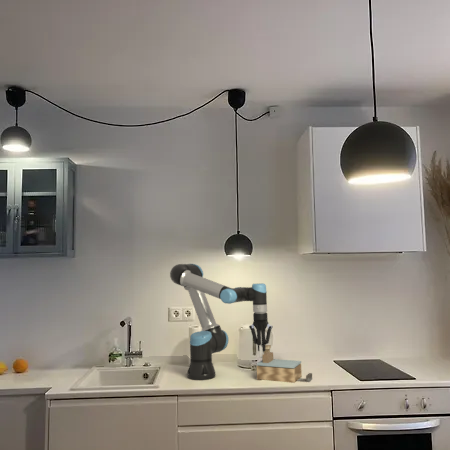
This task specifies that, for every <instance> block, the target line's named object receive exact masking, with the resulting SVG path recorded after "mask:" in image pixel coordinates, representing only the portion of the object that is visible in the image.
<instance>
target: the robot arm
mask: <svg viewBox="0 0 450 450" xmlns="http://www.w3.org/2000/svg"><path fill="white" fill-rule="evenodd" d="M169 277H170V280H171V281H172V282H173V283H174V284H175V285H178V286H181V287H183V289H184V290H186V291H187V292H188V294H189V297H190V299H191V302H192V305H193V308H194V310H195V313H196V316H197V318H198V320H199V323H200V327H201V330H200V331H195V332H193V333H191V335H190V336H189V337H190V338H189V354H190V355H189V356H190V360H189V361H190V362H189V366H188V371H187V373H186V374H187V378H188V379H189V380H192V381H193V380H194V381H203V380H206V381H207V380H211V379H214V378H215V377H216V370H215V367H214V363H213V354H216V353H220V352H222V351H224V350H226V348H227V347H228V344H229V335H228V333H227V332H226V331H224V330H223V329H222V327H221V325H220V324H218V323H217V322H216V319H215V316H214V315H213V312H212V309H211V306H210V304H209V301H208V298H207V296H206V294H207V295H209V296H211V297H214V298H217V299H219V300H221V302H222V303H224V304H228V305H230V304H235V303H240V302H252V312H253V314H252V315H253V321H252V322H253V323H252V324H251V325H249V326H248V328H249V330H250V332H251V336H252V341H253V343H254V344H255V345H257V351H258V352H259V359H262V358H263V354H264V351H265V350H266V348H265V345H269V344H270V339H271V338H270V337H271V333H272V329H273V325H271V324H269V323H270V322H268V313H267V312H268V304H267V303H268V300H267V298H268V297H267V292H268V290H267V285H266V284H265V283H252V285H251V286H250V287H249V286H248V287H247V286H246V287H244V286H243V287H242V286H239V287H234V288H232V287H230V286H226V285H224V284H223V283H222V284H221V283H219V282H215V281H213V280H210V279H209V278H208V279H207V278H206V277H204V271H203V269H202V267H201V266H200V265H199V264H196V263H180V264H175V265H173V266H172V268H171V270H170V272H169ZM266 330H267V331H266Z"/></svg>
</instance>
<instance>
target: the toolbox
mask: <svg viewBox="0 0 450 450" xmlns="http://www.w3.org/2000/svg"><path fill="white" fill-rule="evenodd" d="M302 371H303V370H302V363H300V364H299V365H298V366H296V367H295V368H284V367H271V366H258V365H256V380H257V381H271V382H281V383H291V384H292V383H293V384H295V383H296V382H300V383H301V382H303V383H310V382H311V381H312V380H313V373H312V372H308V373H307V374H306V375H305V378H302V376H303V373H302Z"/></svg>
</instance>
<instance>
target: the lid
mask: <svg viewBox="0 0 450 450" xmlns="http://www.w3.org/2000/svg"><path fill="white" fill-rule="evenodd" d="M299 364H302V360H292V359H279V358H274V352H273V351H270V352H267V353H265V354H263V360H262V359H261V360H260V361H258V362H257V363H256V366H271V367H284V368H295V367H296V366H298V365H299Z"/></svg>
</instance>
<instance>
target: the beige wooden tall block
mask: <svg viewBox="0 0 450 450" xmlns="http://www.w3.org/2000/svg"><path fill="white" fill-rule="evenodd" d="M271 346H272V345H271V344H266V345H265V348H266V350H265V351H264V354H265V353H267V352H271V348H272V347H271ZM262 360H263V358H261V361H262Z"/></svg>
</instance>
